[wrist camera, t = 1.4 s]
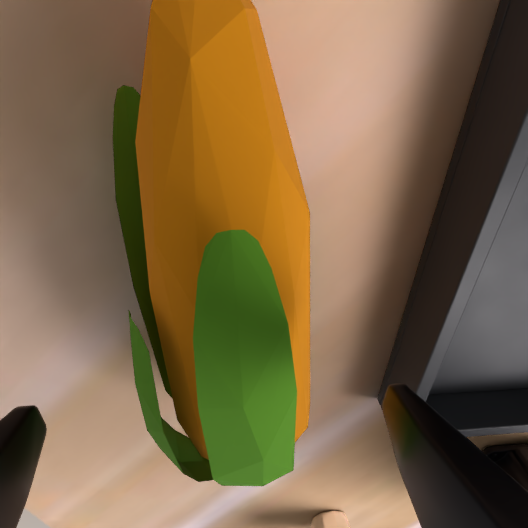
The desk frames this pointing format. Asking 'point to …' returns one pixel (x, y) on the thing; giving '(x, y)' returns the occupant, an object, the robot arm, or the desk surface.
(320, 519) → the milkshake
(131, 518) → the desk surface
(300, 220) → the corn
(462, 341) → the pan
